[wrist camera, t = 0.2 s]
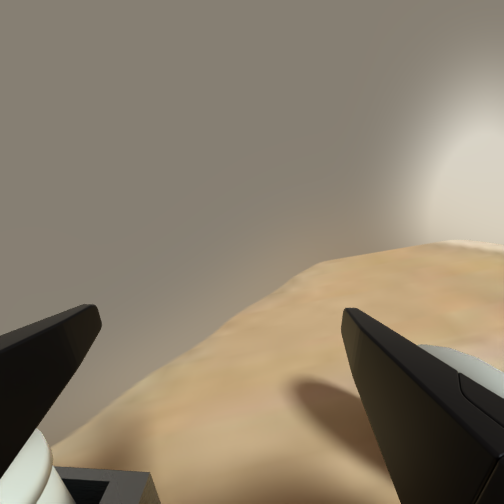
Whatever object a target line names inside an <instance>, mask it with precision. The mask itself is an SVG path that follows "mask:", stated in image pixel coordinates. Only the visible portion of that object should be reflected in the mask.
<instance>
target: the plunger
mask: <svg viewBox="0 0 504 504" xmlns="http://www.w3.org/2000/svg"><path fill="white" fill-rule="evenodd" d="M0 504H76V503H75V501H74V499H73V498H72V496H71V494H70V493H69V491H68V489H67V488H66V486H65V484H64V483H63V481H62V479H61V478H60V476H59V474H58V473H57V471H56V469H55V468H54V466H53V455H52V451H51V449H50V447H49V445H48V443H47V442H46V440H45V438H44V436H43V435H42V433H41V432H40V431H39V430H38V429H37V428H36V429H35V431H34V432H33V434H32V435H31V436H30V438H29V439H28V441H27V442H26V443H25V445H24V446H23V448H22V449H21V451H20V452H19V453H18V455H17V456H16V458H15V459H14V461H13V462H12V463H11V465H10V466H9V468H8V469H7V471H6V472H5V473H4V475H3V476H2V478H1V479H0Z"/></svg>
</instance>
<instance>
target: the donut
mask: <svg viewBox="0 0 504 504" xmlns="http://www.w3.org/2000/svg"><path fill="white" fill-rule="evenodd" d="M417 346H419V347H420V348H422V349H424V350H425V351H427V352H429V353H430V354H432V355H433V356H435V357H437V358H438V359H440V360H441V361H443V362H445V363H446V364H448V365H450V366H451V367H453V368H454V369H456V370H457V371H458V373H459V372H461V373H463V374H464V375H466V376H467V377H469V378H471V379H472V380H474V381H475V382H477V383H479V384H480V385H482V386H484V387H485V388H487V389H489V390H490V391H492V392H494V393H495V394H497V395H499V396H500V397H502V398H504V373H503V372H502V371H500V370H498V369H496V368H495V367H493V366H491V365H490V364H488V363H486V362H484V361H483V360H481V359H479V358H477V357H474V356H471V355H468V354H465V353H463V352H460V351H457V350H454V349H451V348H447V347H440V346H432V345H417Z"/></svg>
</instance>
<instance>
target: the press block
mask: <svg viewBox="0 0 504 504" xmlns="http://www.w3.org/2000/svg"><path fill="white" fill-rule="evenodd" d="M54 468H55V469H56V471H57V473H58V474H59V476H60V478H61V479H62V481H63V483H64V484H65V486H66V488H67V489H68V491H69V493H70V494H71V496H72V498H73V499H74V501H75V503H76V504H161V503H160V500H159V497H158V494H157V491H156V488H155V486H154V483H153V480H152V477H151V474H150V472H137V471H121V470H105V469H89V468H73V467H57V466H54Z"/></svg>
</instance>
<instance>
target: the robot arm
mask: <svg viewBox="0 0 504 504" xmlns="http://www.w3.org/2000/svg"><path fill="white" fill-rule="evenodd" d="M101 327H102V322H101V319H100V315H99V312H98V309H97V307H96V305H93V304H83V305H80V306H77V307H75V308H72V309H69V310H67V311H64V312H62V313H59V314H56V315H54V316H51V317H48V318H46V319H43V320H40V321H38V322H35V323H32V324H30V325H27V326H25V327H22V328H19V329H17V330H14V331H11V332H9V333H6V334H3V335H1V336H0V479H1V478H2V476H3V475H4V473H5V472H6V471H7V469H8V468H9V466H10V465H11V463H12V462H13V461H14V459H15V458H16V456H17V455H18V453H19V452H20V451H21V449H22V448H23V446H24V445H25V443H26V442H27V441H28V439H29V438H30V436H31V435H32V434H33V432H34V431H35V429H36V428H37V426H38V425H39V423H40V422H41V421H42V419H43V418H44V416H45V415H46V414H47V412H48V411H49V409H50V408H51V406H52V405H53V403H54V402H55V401H56V399H57V398H58V396H59V395H60V394H61V392H62V391H63V389H64V388H65V386H66V385H67V384H68V382H69V381H70V379H71V378H72V376H73V375H74V373H75V372H76V371H77V369H78V367H79V366H80V364H81V363H82V361H83V359H84V357H85V356H86V354H87V352H88V351H89V349H90V347H91V345H92V344H93V342H94V340H95V339H96V337H97V335H98V333H99V332H100V330H101ZM341 333H342V338H343V342H344V345H345V349H346V353H347V357H348V361H349V365H350V369H351V372H352V376H353V379H354V382H355V384H356V387H357V390H358V392H359V395H360V397H361V400H362V403H363V405H364V408H365V411H366V413H367V416H368V418H369V421H370V424H371V426H372V429H373V431H374V434H375V437H376V439H377V442H378V445H379V447H380V450H381V452H382V455H383V458H384V460H385V463H386V466H387V468H388V471H389V473H390V476H391V479H392V481H393V484H394V487H395V489H396V492H397V494H398V497H399V500H400V502H401V504H504V398H502V397H500V396H499V395H497V394H495V393H494V392H492V391H490V390H489V389H487V388H485V387H484V386H482V385H480V384H479V383H477V382H475V381H474V380H472V379H471V378H469V377H467V376H466V375H464V374H463V373H461V372H459V373H458V371H457V370H456V369H454V368H453V367H451V366H450V365H448V364H446V363H445V362H443V361H441V360H440V359H438V358H437V357H435V356H433V355H432V354H430V353H429V352H427V351H425V350H424V349H422V348H420V347H419V346H417V345H416V344H414V343H412V342H411V341H409V340H408V339H406V338H404V337H403V336H401V335H400V334H398V333H396V332H395V331H393V330H391V329H390V328H388V327H387V326H385V325H383V324H382V323H380V322H379V321H377V320H375V319H374V318H372V317H370V316H369V315H367V314H366V313H364V312H362V311H361V310H359V309H357V308H345V309H344V311H343V317H342V325H341Z"/></svg>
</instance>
